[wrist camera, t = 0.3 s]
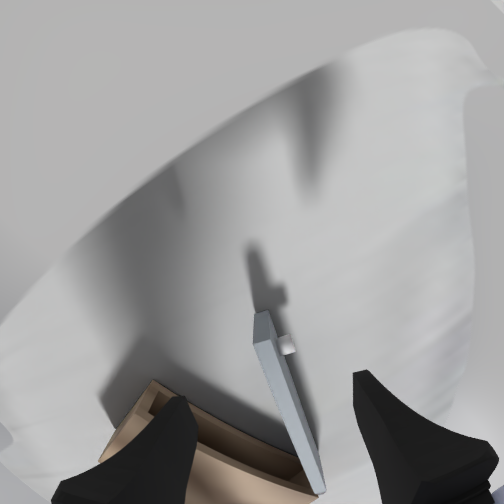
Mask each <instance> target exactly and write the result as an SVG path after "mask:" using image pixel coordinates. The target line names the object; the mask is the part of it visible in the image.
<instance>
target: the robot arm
mask: <svg viewBox="0 0 504 504" xmlns="http://www.w3.org/2000/svg"><path fill="white" fill-rule="evenodd" d="M353 407H354V411H355V415H356V419H357V423H358V426H359V429H360V432H361V434H362V437H363V440H364V442H365V445H366V447H367V450H368V452H369V455H370V458H371V460H372V463H373V466H374V469H375V472H376V477H377V481H378V485H379V490H380V495H381V499H382V504H504V485H503V486H502V487H500V488H498V489H497V490H496V491H494V492H493V493H492V494H491V493H490V491H489V488H490V487H491V485H490V483H489V481H488V479H489V477H490V476H491V474H492V473H493V471H494V470H495V468H496V466H497V464H498V462H499V457H498V455H497V454H496V452H495V450H494V449H493V447H492V446H491V445H490V444H489V443H488V442H487V441H485V440H480V439H476V438H472V437H468V436H464V435H461V434H458V433H455V432H453V431H450V430H448V429H446V428H444V427H441V426H439V425H437V424H435V423H433V422H431V421H429V420H428V419H426V418H424V417H423V416H421V415H419V414H418V413H416V412H415V411H413V410H412V409H411V408H409V407H408V406H407V405H405V404H404V403H403V402H401V401H400V400H399V399H398V398H397V397H395V396H394V395H393V394H392V393H391V392H390V391H389V390H387V389H386V388H385V387H384V386H383V385H382V384H381V383H380V382H379V381H378V380H377V379H376V378H375V377H374V376H373V375H372V374H371V373H370V371H368V370H363V371H359V372H354V373H353ZM198 427H199V426H198V424H197V422H196V420H195V417H194V415H193V413H192V411H191V409H190V406H189V404H188V402H187V400H186V397H185V396H172V397H171V398H170V400H169V401H168V402H167V403H166V404H165V405H164V406H163V408H162V409H161V410H160V411H159V412H158V413H157V415H156V416H155V417H154V418H153V419H152V420H151V421H150V422H149V423H148V425H147V426H146V427H145V428H144V429H143V430H142V431H141V432H140V433H139V434H138V435H137V436H136V437H135V438H134V439H133V440H132V441H130V442H129V443H128V444H127V445H126V446H125V447H123V448H122V449H121V450H120V451H118V452H117V453H116V454H114V455H113V456H111V457H110V458H108V459H107V460H105V461H104V462H102V463H101V464H99V465H97V466H95V467H94V468H92V469H90V470H88V471H86V472H84V473H81V474H79V475H77V476H74V477H71V478H69V479H66V480H63V481H61V482H60V484H59V486H58V488H57V489H56V491H55V493H54V495H53V497H52V499H51V503H52V504H185V497H186V489H187V484H188V480H189V476H190V472H191V468H192V464H193V460H194V455H195V451H196V447H197V439H198Z"/></svg>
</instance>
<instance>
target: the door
mask: <svg viewBox="0 0 504 504" xmlns="http://www.w3.org/2000/svg"><path fill="white" fill-rule="evenodd" d="M253 346H254V349H255V351H256V354H257V356H258V359H259V361H260V364H261V366H262V369H263V372H264V374H265V377H266V379H267V382H268V384H269V387H270V389H271V392H272V394H273V397H274V399H275V401H276V404H277V406H278V409H279V411H280V414H281V416H282V419H283V421H284V423H285V426H286V428H287V431H288V433H289V435H290V438H291V440H292V443H293V445H294V447H295V450H296V452H297V454H298V457H299V459H300V461H301V464H302V466H303V468H304V471H305V473H306V475H307V477H308V480H309V482H310V484H311V487H312V489H313V491H314V493H315V494H318V495H321V494H324V493H325V492H326V486H325V481H324V476H323V471H322V466H321V461H320V456H319V453H318V450H317V447H316V445H315V442H314V439H313V436H312V433H311V430H310V428H309V425H308V422H307V419H306V416H305V413H304V411H303V408H302V405H301V402H300V399H299V396H298V393H297V391H296V388H295V385H294V382H293V379H292V376H291V373H290V371H289V368H288V365H287V362H286V359H285V356H284V355H286V354H290V353H293V352H296V350H295V346H294V343H293V339H292V337H291V334H288V335H285V336H282V337H278V336H277V333H276V330H275V328H274V325H273V322H272V319H271V316H270V313H269V310H266V311H263V312H259V313H256V314H254V330H253Z"/></svg>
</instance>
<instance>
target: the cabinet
mask: <svg viewBox="0 0 504 504" xmlns="http://www.w3.org/2000/svg"><path fill="white" fill-rule="evenodd" d="M172 396H177V395H176V394H174V393H173V392H171V391H170V390H168V389H166V388H165V387H163V386H162V385H160V384H159V383H157V382H156V381H154V380H152V382H151V383H150V384H149V386H148V387H147V388H146V390H145V391H144V392H143V394H142V395H141V396H140V398H139V399H138V401H137V402H136V403H135V405H134V406H133V407H132V409H131V410H130V411H129V413H128V414H127V415H126V417H125V418H124V420H123V421H122V422H121V424H120V425H119V426H118V428H117V429H116V430H115V432H114V434H113V435H112V437H111V439H110V441H109V442H108V444H107V446H106V448H105V449H104V451H103V453H102V455H101V457H100V458H99V460H98V462H99V463H102V462H104V461H105V460H107V459H108V458H110V457H111V456H113V455H114V454H116V453H117V452H118V451H120V450H121V449H122V448H123V447H125V446H126V445H127V444H128V443H129V442H130V441H132V440H133V439H134V438H135V437H136V436H137V435H138V434H139V433H140V432H141V431H142V430H143V429H144V428H145V427H146V426H147V425H148V423H149V422H150V421H151V420H152V419H153V418H154V417H155V416H156V415H157V413H158V412H159V411H160V410H161V409H162V408H163V406H164V405H165V404H166V403H167V402H168V401H169V400H170V398H171V397H172ZM188 404H189V406H190V409H191V411H192V413H193V415H194V417H195V420H196V422H197V424H198V426H199V427H198V439H197V447H196V451H195V455H194V460H193V464H192V468H191V472H190V476H189V480H188V484H187V489H186V497H185V504H309V503H311V502H313V501H314V500H316V499H317V498H319V497H318V494H315V493H314V491H313V489H312V487H311V484H310V482H309V480H308V477H307V475H306V473H305V471H304V468H303V466H302V464H301V461H300V459H299V458H298V457H295V456H293V455H291V454H288V453H286V452H284V451H281V450H279V449H277V448H275V447H272V446H270V445H268V444H266V443H264V442H262V441H260V440H257V439H255V438H253V437H251V436H249V435H247V434H245V433H243V432H241V431H239V430H237V429H235V428H233V427H232V426H230V425H228V424H226V423H224V422H222V421H220V420H218V419H217V418H215V417H213V416H211V415H209V414H208V413H206V412H204V411H202V410H201V409H199V408H197V407H196V406H194V405H192V404H191V403H189V402H188Z"/></svg>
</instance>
